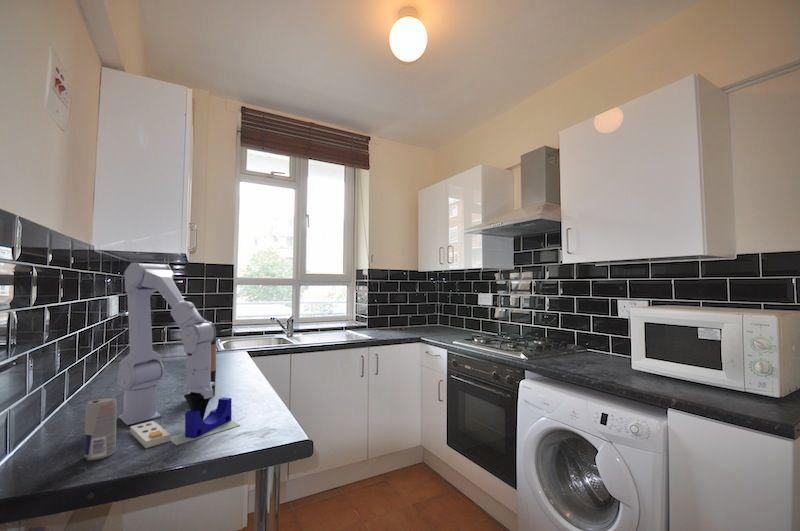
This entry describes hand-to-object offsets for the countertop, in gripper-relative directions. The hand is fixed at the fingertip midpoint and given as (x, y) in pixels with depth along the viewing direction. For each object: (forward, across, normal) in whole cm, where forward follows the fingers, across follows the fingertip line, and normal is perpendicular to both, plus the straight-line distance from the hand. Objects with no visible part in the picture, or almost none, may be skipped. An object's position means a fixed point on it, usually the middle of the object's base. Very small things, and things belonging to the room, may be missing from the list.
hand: (198, 420), depth 95 cm
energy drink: (+2, 0, +20) cm, 20 cm away
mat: (+2, -5, 0) cm, 5 cm away
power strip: (+2, +3, +10) cm, 11 cm away
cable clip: (+2, -3, -1) cm, 4 cm away
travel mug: (+2, +27, -11) cm, 29 cm away
